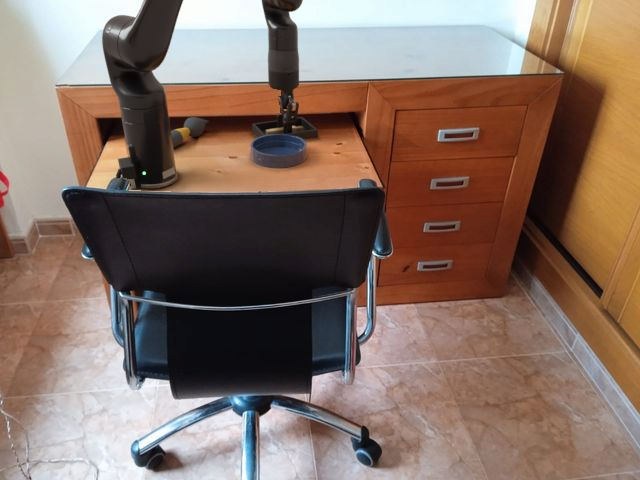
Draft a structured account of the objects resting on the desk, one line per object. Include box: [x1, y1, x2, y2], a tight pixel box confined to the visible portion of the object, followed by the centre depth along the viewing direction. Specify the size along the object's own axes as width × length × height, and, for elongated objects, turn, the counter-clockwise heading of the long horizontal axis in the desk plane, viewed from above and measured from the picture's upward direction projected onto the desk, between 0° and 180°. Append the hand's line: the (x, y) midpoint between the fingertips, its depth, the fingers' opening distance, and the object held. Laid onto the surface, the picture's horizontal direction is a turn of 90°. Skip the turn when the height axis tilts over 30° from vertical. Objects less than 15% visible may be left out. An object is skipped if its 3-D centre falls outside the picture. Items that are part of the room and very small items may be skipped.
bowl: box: [249, 134, 308, 169], centre depth 127 cm, size 13×13×4 cm
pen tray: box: [251, 116, 319, 141], centre depth 139 cm, size 14×10×2 cm
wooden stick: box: [266, 126, 303, 135], centre depth 139 cm, size 10×2×2 cm, turn 115°
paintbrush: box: [171, 116, 210, 149], centre depth 133 cm, size 20×5×5 cm, turn 155°
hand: (284, 133), depth 140 cm, fingers open, 4 cm apart
